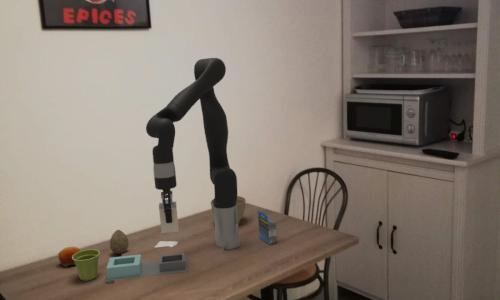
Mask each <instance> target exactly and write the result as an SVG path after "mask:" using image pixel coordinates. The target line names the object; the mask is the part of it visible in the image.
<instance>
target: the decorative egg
mask: <svg viewBox="0 0 500 300" xmlns="http://www.w3.org/2000/svg"><path fill="white" fill-rule="evenodd" d="M109 245H110V246H109V247H110V249H111V251H112V253H114V254H117V255H122V254H123V253H125V252H127V250H128V248H129V245H130V244H129V239H128V237H127V235H126V234H125V233H124V232H123V231H122V230H120V229H117V230H115V231H114V232H113V234H112V235H111V237H110V240H109Z"/></svg>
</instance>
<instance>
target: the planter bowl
mask: <svg viewBox="0 0 500 300" xmlns="http://www.w3.org/2000/svg"><path fill="white" fill-rule="evenodd" d="M213 200H214V198H213V199H211V200H210V205H211V206H210V207H211V211H212V214H213V215H214V205H213ZM236 205H237V223H238V224H240V223H241V219H242V218H243V216H244V213H245V211H246V210H245V209H246V198H245V197H243V196H240V195H237V200H236Z"/></svg>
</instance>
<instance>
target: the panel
mask: <svg viewBox="0 0 500 300" xmlns="http://www.w3.org/2000/svg"><path fill="white" fill-rule="evenodd" d="M187 267H188V265H187V258H186V254H185V253H184V252H183V253H173V254H165V255H159V260H157V261H147V262H143V261H142V254H132V255H124V256H123V255H122V256H113V257H109V260H108V263H107V265H106V268H105V269H106V279H105V284H106V285H107V284H114V283H115V282H116V281H118V280H127V279H135V278H137V279H138V278H144V277H154V276H161V275H162V276H163V275H170V274H178V273H179V274H180V273H187V272H188V268H187Z"/></svg>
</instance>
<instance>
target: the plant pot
mask: <svg viewBox="0 0 500 300" xmlns="http://www.w3.org/2000/svg"><path fill="white" fill-rule="evenodd" d="M100 255H101V252H100V250H98V249H93V248H92V249H83V250H80V252H77V253H75V254H74V255H73V256H72V259H73V260H74V262H75V264H76V265H75V266H76V270H77V274H78V277H79V279H80V280H81V281H86V282H87V281H92V280H94V278H97V277H98V273H99V271H98V270H99V269H98V267H99V257H100Z"/></svg>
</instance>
